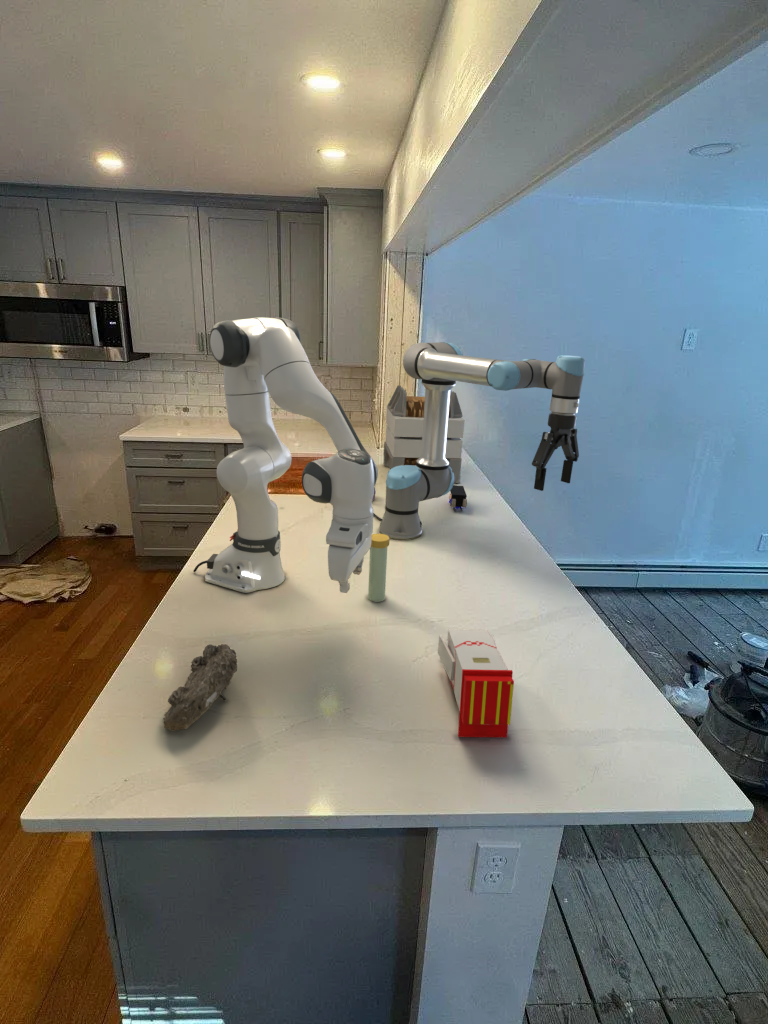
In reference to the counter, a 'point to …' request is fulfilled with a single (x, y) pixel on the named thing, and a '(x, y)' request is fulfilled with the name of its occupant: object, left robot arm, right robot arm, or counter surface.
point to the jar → (377, 574)
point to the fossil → (201, 686)
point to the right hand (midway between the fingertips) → (552, 485)
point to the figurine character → (458, 497)
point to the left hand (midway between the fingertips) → (351, 582)
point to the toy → (478, 682)
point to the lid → (379, 541)
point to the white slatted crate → (419, 431)
